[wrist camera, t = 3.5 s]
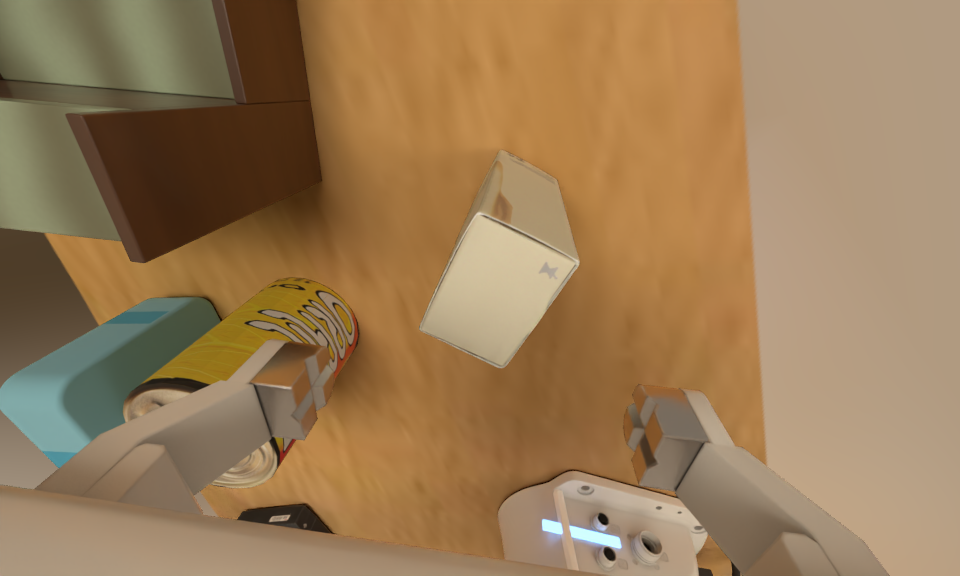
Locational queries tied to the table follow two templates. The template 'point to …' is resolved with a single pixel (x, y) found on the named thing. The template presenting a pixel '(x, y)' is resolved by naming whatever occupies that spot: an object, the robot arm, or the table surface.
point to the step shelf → (150, 117)
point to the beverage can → (225, 348)
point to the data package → (100, 373)
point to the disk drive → (286, 518)
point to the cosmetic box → (503, 264)
